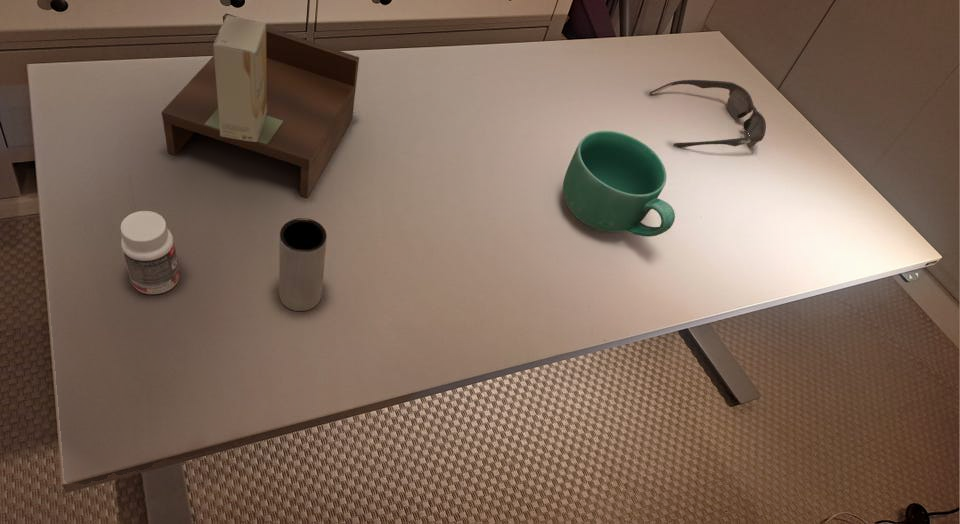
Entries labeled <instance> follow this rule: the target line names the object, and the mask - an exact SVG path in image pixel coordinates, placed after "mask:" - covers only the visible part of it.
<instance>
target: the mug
mask: <svg viewBox="0 0 960 524" xmlns="http://www.w3.org/2000/svg"><path fill="white" fill-rule="evenodd" d="M570 159H571V160H570V162H569V164H568V167H567V169H566V171H565V173H564V174H565V175H564V178H563V183H562V195H563V198H564V201H565V204H566V206H567V208H568V210H570V212H571V213H572V214H573V215H574V216H575V218H577V219H578V220H579V221H581V222H582V223H584V224H585V225H587V226H588V227H591V228H593V229H594V230H598V231H602V232H606V233H607V232H608V233H619V232H620V233H621V232H625V231H627V232H628V233H631V234H632V235H636V236H640V237H650V238H651V237H656V236H659V235H662V234H663V233H666V232H667V231H669V230H670V229H671V228H672V227H673V225H674V222H675V219H676V213H675V210H674V208H673V206H672V205H671V204H670V203H668V202H667V201H665V200H662V199H661V198H658V197H659V196H660V195H661V193H662V191H663V190H664V188H665V186H666V183H667V171H666V167H665V165H664V162H663V161H662V160H661V158H660V157H659V155H658V154H657V153H656V152H655V151H654V150H653V149H652V148H651V147H650V146H648V145H647V144H646V143H644V142H642V141H641V140H639V139H637V138H635V137H633V136H631V135H628V134H625V133H623V132H617V131H613V130H598V131H593V132H590V133H588V134H587V135H585V136H584V137H583V138H582V139H581V140H580V141H579V142H578V144H577V147H576V148H575V151H574V154H573V155H572V157H571V158H570ZM651 210H654V211H655V212H657V213H658V215H659V217H660V221H661V222H660V225H659V226H650V225H647V224H645V223H643V222H642V221H643V220H644V219H645V218H646V216H647V215H649V213H650V211H651Z"/></svg>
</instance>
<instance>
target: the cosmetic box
mask: <svg viewBox="0 0 960 524" xmlns="http://www.w3.org/2000/svg"><path fill="white" fill-rule="evenodd" d="M230 15H231V14H230ZM230 15H228V16H226V18H225V20H224V22H223V21H222V25H221V27H220V28H219V31H218V33H217V36H216V38H215V40H214V42H213V56H214V60H215V73H216V86H217V99H218V112H219V126H220V136H222V137H227V138H233V139H238V140H245V141H251V142H257V141H258V139H259V136H260V134H261V131H262V128H263V125H264V121H265V117H266V114H267V74H266V27H267V23H266V22H262V21H257V20H253V19H248V18H243V17H239V16H236V17H234V16H235V15H233V16H230Z"/></svg>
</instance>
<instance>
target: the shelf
mask: <svg viewBox="0 0 960 524" xmlns="http://www.w3.org/2000/svg"><path fill="white" fill-rule="evenodd" d="M228 15H230V16H234V17H237V16H236V15H234V14H230V13H228V12H227V13H225V14H224V15H222V23H223V22H224V20H225V18H226V16H228ZM359 61H360V57H359V56H358V55H357V56H356V55H353V54H352V53H351V54H350V53H348V52H344V51H341V50H338V49H337V48H336V49H335V48H333V47H331V46H330V47H329V46H326V45H323V44H320V43H317V42H314V41H311V40H308V39H305V38H302V37H299V36H297V35H293V34H291V33H287V32H284V31H281V30H279V29H276V28H275V29H274V28H272V27H269V26H266V74H267V114H266V117H265V121H264V125H263V128H262V131H261V134H260V136H259V139H258V141H257V142H251V141H245V140H238V139H233V138H227V137H222V136H220V126H219V112H218V99H217V86H216V73H215V60H214V55H213V56H212V57H211V58H209V60H208V61H207V62H206V63H205V64H204V65H203V67H201V69H199V71H198V72H197V73H196V74H195V75H194V76H193V78H191V80H189V81H188V83H187V84H186V85H184V87H183V88H182V89H181V90H180V91H179V92H178V93H177V94H176V96H174V97H173V99H172V100H171V101H170V102H169V103H168V104H167V105H166V106H165V108H164V109H162V111H161V119H162V124H163V131H164V137H165V142H166V143H165V144H166V150H167V153H168V154H169V155H172V156H177V155H178V153H179V152H181V150H182V149H183V148H184V146H185V145H186V144H187V143H188V141H189V140H190V139H191V138H192V137H193V136H194V134H196V133H197V134H200V135H203V136H206V137H209V138H211V139H215V140H218V141H220V142H221V141H222V142H224V143H227V144H230V145H234V146H237V147H239V148H243V149H247V150H249V151H251V152H255V153H259V154H260V155H261V154H262V155H265V156H267V157H271V158H274V159H277V160H280V161H283V162H286V163H290V164H292V165H296V166H299V167H300V182H299V183H300V186H299V196H300V197H304V198H305V199H307V198H308V197H309V196H310V195H311V192H312V191H313V189H314V187H315V185H316V184H317V182H318V180H319V178H320V177H321V175H322V173H323V171H324V170H325V168H326V166H327V165H328V163H329V161H330V159H331V158H332V156H333V154H334V153H335V151H336V149H337V147H338V146H339V144H340V142H341V140H342V138H343V137H344V135H345V133H346V132H347V130H348V128H349V127H350V125H351V123H352V121H353V116H354V108H355V97H356V90H357V83H358V72H359V63H360V62H359Z"/></svg>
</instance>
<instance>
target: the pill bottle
mask: <svg viewBox="0 0 960 524" xmlns="http://www.w3.org/2000/svg"><path fill="white" fill-rule="evenodd" d="M120 233H121V239H120V246H121V250H122V254H123V256H124V261H125V264H126V269H127V271H128V275H129V280H130V283H131V285H132V286H133V287H134V288H135V290H137V291H138V292H140V293H142V294H146V295H159V294H164V293H167V292H169V291H170V290H171V289H173V288H174V287H175V286H177V284H178V282H179V280H180V276H181V275H180V267H179V262H178V256H177V252H176V245H175V239H174V237H173V234H172V232H171V231H170V230H169V229H168V227H167V223H166V220H165V217H163V216H162V215H160V214H159V213H157V212H155V211H150V210H138V211H135V212H132V213H130V214H128V215H127V216H126V217H125V218H124V219H123V220H122V221H121V222H120Z"/></svg>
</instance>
